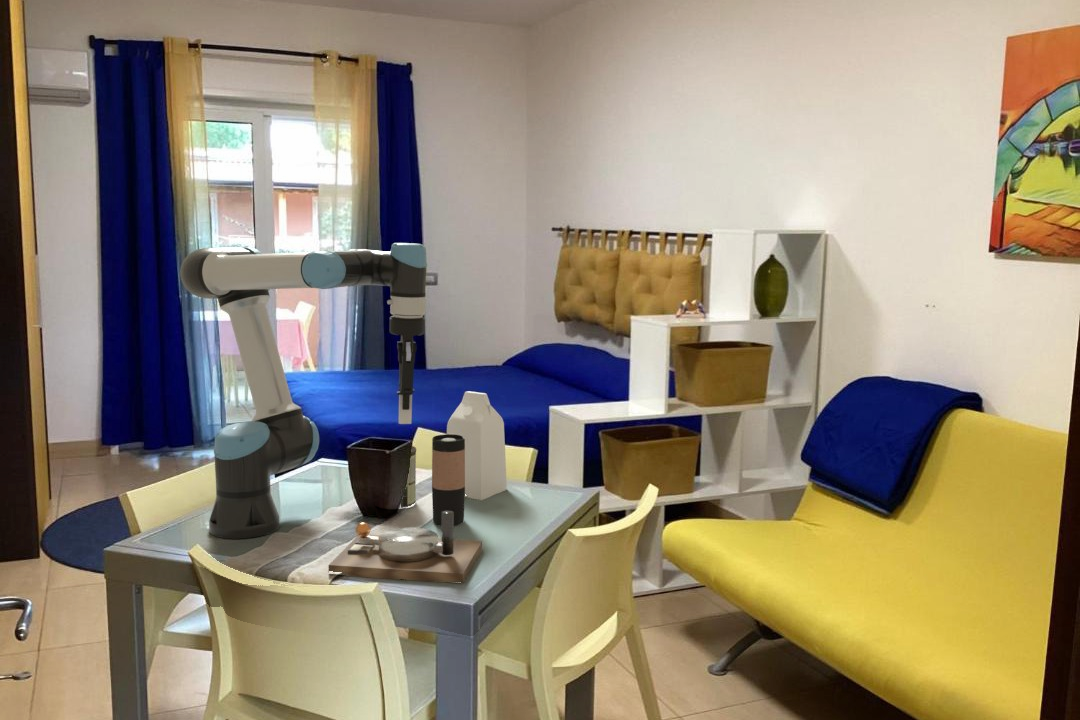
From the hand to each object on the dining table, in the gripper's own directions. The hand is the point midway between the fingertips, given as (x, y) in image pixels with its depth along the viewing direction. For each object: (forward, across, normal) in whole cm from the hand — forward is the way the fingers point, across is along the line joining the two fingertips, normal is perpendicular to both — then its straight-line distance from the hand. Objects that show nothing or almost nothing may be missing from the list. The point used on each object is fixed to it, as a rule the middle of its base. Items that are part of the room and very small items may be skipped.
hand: (404, 423), depth 203 cm
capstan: (+23, +17, 0) cm, 28 cm away
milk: (+26, -32, +21) cm, 46 cm away
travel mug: (+26, -8, +11) cm, 29 cm away
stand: (+25, +17, 0) cm, 30 cm away
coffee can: (+26, -24, 0) cm, 35 cm away
